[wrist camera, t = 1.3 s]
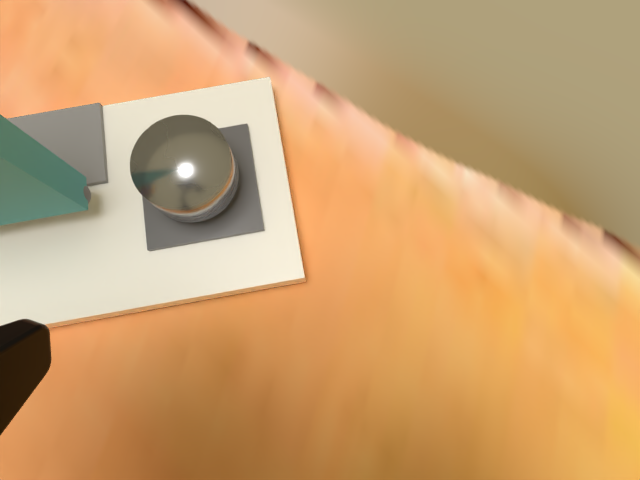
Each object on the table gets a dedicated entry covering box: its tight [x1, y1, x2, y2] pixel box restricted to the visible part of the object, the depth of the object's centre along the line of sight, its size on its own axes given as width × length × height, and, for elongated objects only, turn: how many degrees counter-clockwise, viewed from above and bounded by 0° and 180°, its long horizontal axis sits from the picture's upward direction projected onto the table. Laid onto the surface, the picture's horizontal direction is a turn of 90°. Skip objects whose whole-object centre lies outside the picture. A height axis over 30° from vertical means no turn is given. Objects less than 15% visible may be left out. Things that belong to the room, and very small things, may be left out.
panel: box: [0, 77, 306, 328], centre depth 23 cm, size 10×24×2 cm, turn 100°
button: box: [130, 115, 239, 223], centre depth 20 cm, size 4×4×2 cm
